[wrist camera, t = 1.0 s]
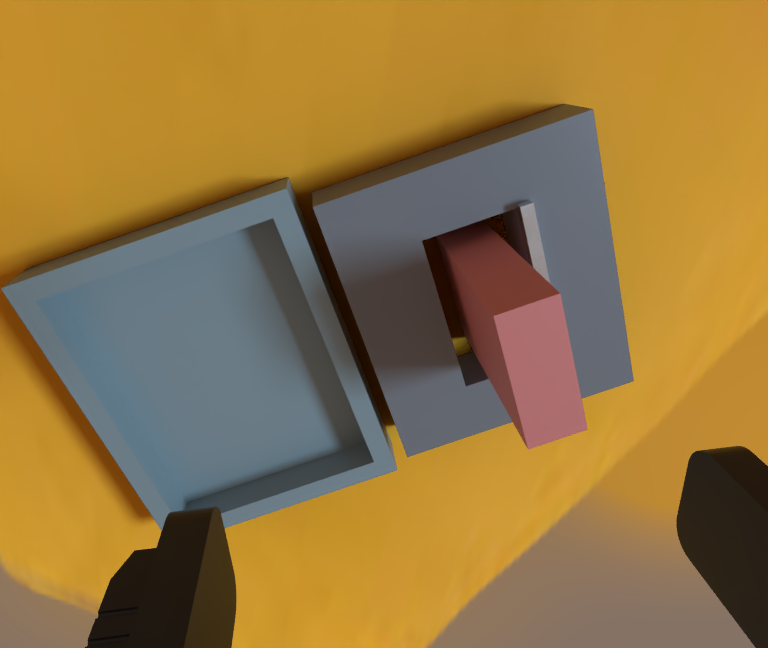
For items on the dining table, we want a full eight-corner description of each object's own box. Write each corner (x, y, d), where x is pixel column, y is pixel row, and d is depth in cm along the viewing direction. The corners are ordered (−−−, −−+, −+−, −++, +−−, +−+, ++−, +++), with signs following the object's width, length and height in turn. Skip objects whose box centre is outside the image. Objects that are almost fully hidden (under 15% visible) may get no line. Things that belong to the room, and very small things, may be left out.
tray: (288, 177, 27) (286, 188, 25) (391, 442, 34) (397, 470, 32) (25, 269, 27) (0, 288, 25) (180, 513, 34) (171, 545, 32)
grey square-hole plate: (564, 103, 27) (599, 110, 24) (607, 354, 33) (639, 387, 30) (312, 192, 27) (312, 210, 24) (399, 424, 33) (409, 464, 30)
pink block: (481, 219, 29) (560, 293, 20) (507, 322, 32) (587, 429, 23) (435, 235, 29) (493, 316, 20) (465, 336, 32) (528, 449, 23)
